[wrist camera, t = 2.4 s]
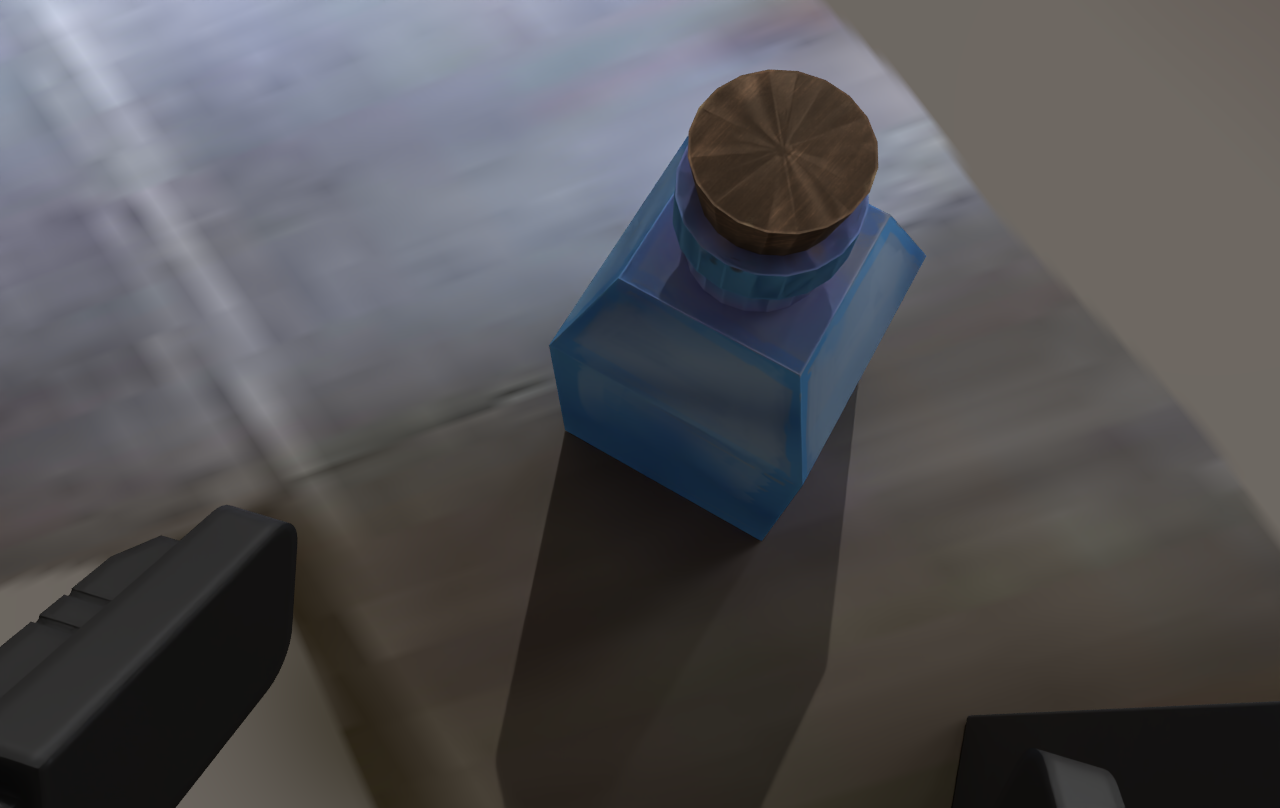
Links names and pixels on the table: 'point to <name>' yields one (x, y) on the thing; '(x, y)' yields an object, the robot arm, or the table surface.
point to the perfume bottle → (740, 301)
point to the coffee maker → (1137, 753)
